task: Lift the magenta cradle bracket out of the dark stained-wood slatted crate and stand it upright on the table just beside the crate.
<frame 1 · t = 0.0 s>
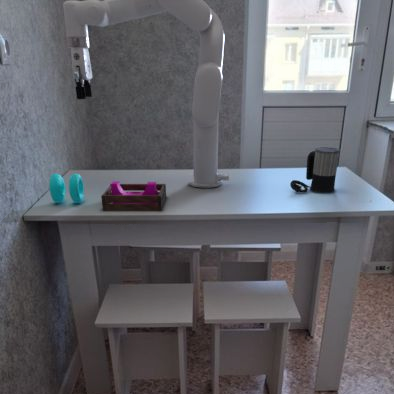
hand: (84, 97, 181), 31 cm above the table, tool pointing down, fingers open, 9 cm apart
crate: (135, 203, 172), on the table
magenta cradle bracket: (135, 204, 172), resting in crate
milk frother: (312, 191, 186), on the table
donuts: (69, 203, 174), on the table
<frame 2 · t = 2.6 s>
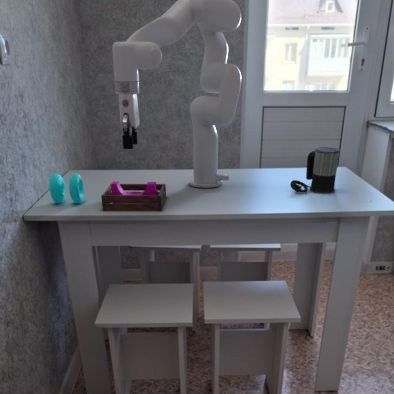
hand: (130, 146, 162), 19 cm above the table, tool pointing down, fingers open, 9 cm apart
nothing on the table moved.
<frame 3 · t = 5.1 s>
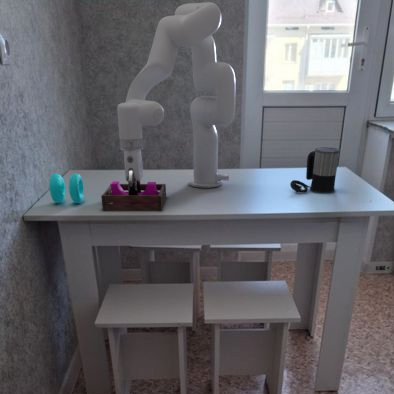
hand: (135, 198, 171), 2 cm above the table, tool pointing down, fingers closed on magenta cradle bracket, 6 cm apart
magenta cradle bracket: (135, 204, 172), resting in crate, touching gripper
everything else where it was.
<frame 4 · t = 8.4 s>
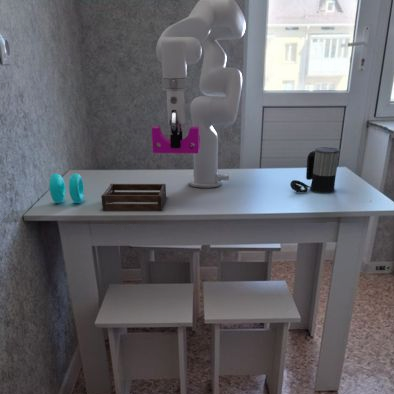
hand: (176, 145, 162), 19 cm above the table, tool pointing down, fingers closed on magenta cradle bracket, 6 cm apart
magenta cradle bracket: (176, 152, 163), point 17 cm above the table, touching gripper
everything else where it was.
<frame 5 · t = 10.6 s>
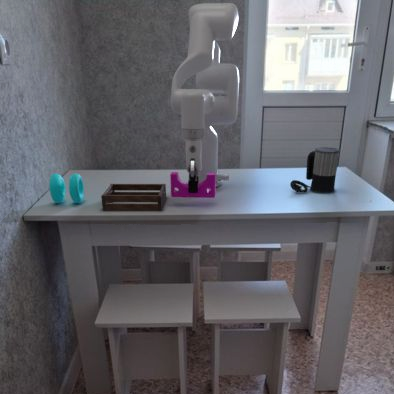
hand: (193, 189, 169), 5 cm above the table, tool pointing down, fingers closed on magenta cradle bracket, 6 cm apart
magenta cradle bracket: (193, 195, 170), point 3 cm above the table, touching gripper
everything else where it was.
when the fingers open (2 cm above the table, at t = 12.1 s): magenta cradle bracket stays where it is, on the table.
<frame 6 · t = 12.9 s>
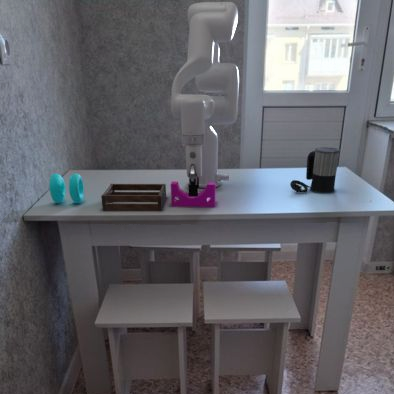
hand: (193, 192, 170), 4 cm above the table, tool pointing down, fingers open, 9 cm apart
magenta cradle bracket: (193, 204, 172), on the table
everything else where it was.
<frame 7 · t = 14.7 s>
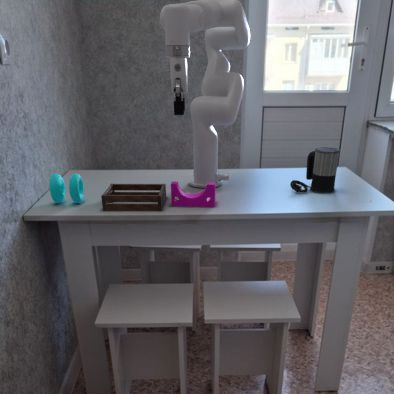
hand: (179, 112, 161), 28 cm above the table, tool pointing down, fingers open, 9 cm apart
nothing on the table moved.
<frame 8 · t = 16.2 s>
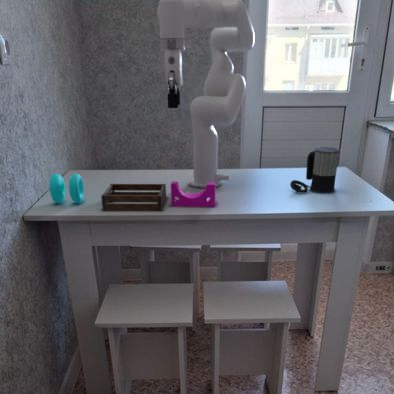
hand: (174, 106, 162), 30 cm above the table, tool pointing down, fingers open, 9 cm apart
nothing on the table moved.
at the end: magenta cradle bracket inside the target area (0.0 cm from its centre), on the table; magenta cradle bracket tilted 0° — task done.
